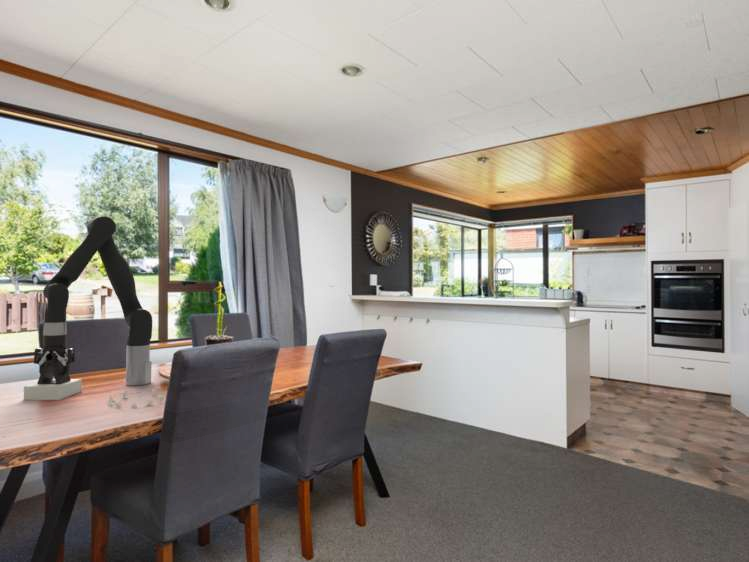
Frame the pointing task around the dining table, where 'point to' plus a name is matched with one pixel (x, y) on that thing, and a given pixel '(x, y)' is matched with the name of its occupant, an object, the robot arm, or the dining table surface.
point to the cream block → (52, 390)
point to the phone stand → (53, 372)
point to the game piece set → (132, 403)
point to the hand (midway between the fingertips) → (54, 374)
